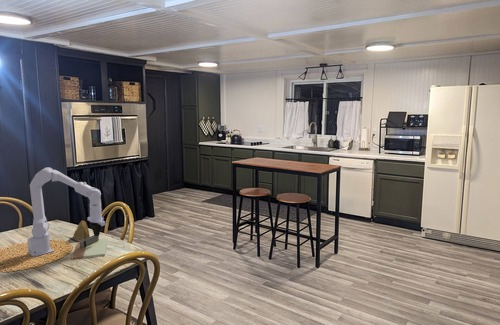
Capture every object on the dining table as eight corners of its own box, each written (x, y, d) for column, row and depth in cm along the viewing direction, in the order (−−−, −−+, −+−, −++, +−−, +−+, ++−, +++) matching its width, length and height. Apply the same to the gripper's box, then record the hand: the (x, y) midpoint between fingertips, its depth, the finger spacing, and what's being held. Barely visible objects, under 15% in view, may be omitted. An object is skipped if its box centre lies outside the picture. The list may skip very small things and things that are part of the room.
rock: (94, 235, 196) (93, 228, 204) (84, 226, 192) (82, 218, 200) (78, 248, 193) (77, 240, 202) (67, 239, 189) (66, 231, 197)
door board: (78, 243, 189) (78, 235, 189) (107, 240, 194) (107, 232, 194) (72, 259, 169) (71, 250, 168) (105, 255, 174) (104, 247, 173)
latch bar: (86, 246, 182) (85, 241, 182) (82, 245, 183) (81, 240, 182) (98, 240, 191) (98, 235, 191) (94, 239, 192) (94, 234, 191)
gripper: (110, 212, 183) (111, 236, 185) (95, 207, 191) (96, 230, 193) (97, 215, 177) (98, 240, 179) (83, 210, 186) (84, 234, 188)
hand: (96, 235), depth 186 cm, fingers closed
